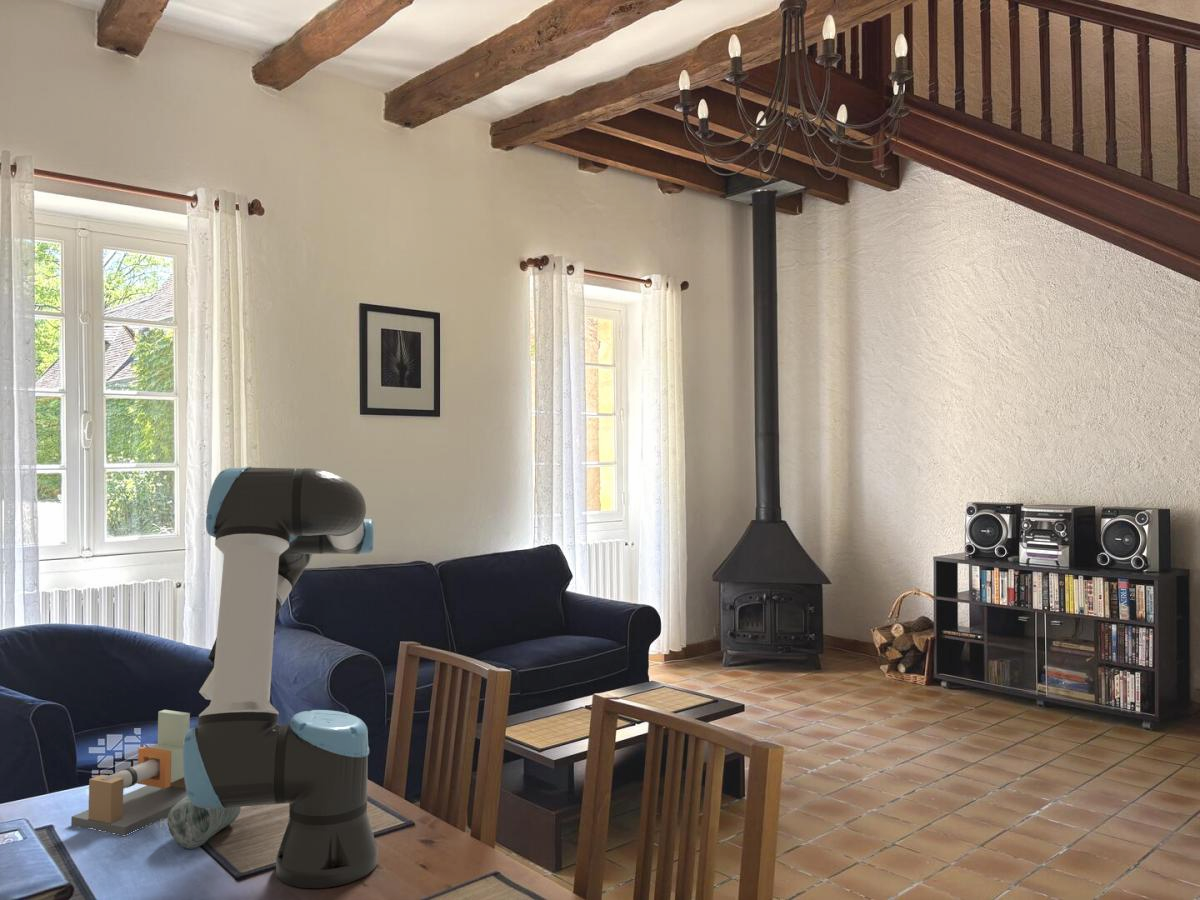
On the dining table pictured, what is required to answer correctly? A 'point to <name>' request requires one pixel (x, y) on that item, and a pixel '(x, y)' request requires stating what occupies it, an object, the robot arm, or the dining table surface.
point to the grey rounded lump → (197, 822)
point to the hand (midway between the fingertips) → (205, 695)
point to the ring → (164, 766)
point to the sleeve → (173, 739)
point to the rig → (128, 800)
